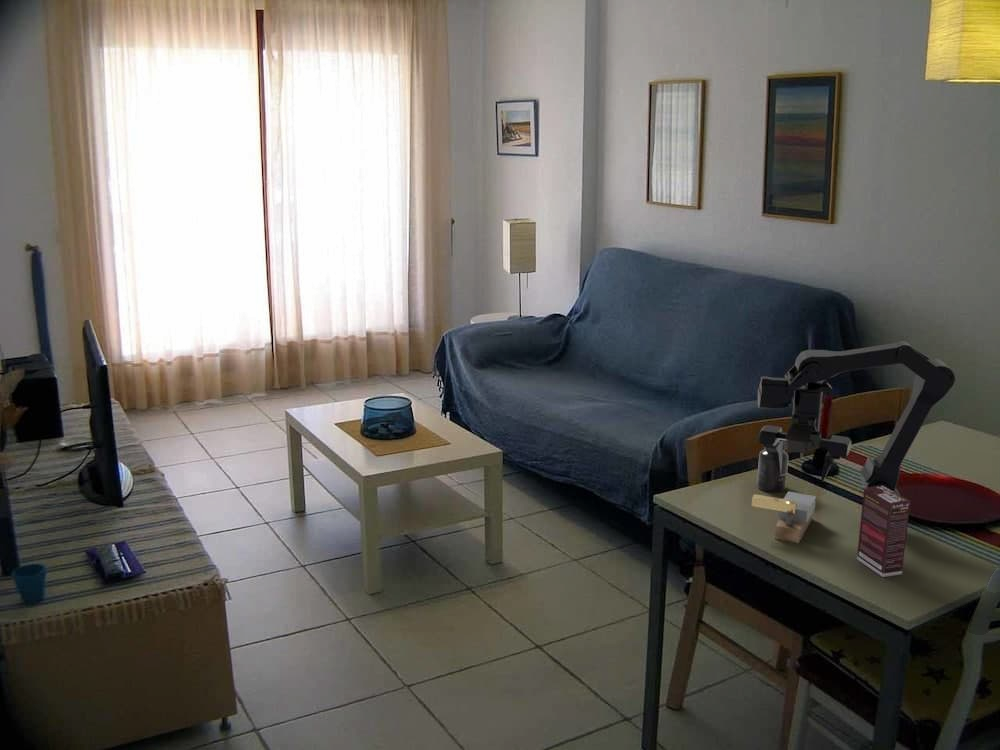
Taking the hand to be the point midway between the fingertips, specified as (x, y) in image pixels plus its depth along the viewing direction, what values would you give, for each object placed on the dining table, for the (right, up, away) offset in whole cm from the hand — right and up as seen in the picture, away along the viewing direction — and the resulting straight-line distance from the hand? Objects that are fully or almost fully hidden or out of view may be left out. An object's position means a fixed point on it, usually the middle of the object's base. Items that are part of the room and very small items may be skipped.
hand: (800, 477), depth 211 cm
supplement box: (+10, -16, -17) cm, 26 cm away
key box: (-1, -11, +1) cm, 11 cm away
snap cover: (-1, -8, +1) cm, 8 cm away
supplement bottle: (0, -5, +23) cm, 23 cm away
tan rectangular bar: (-7, -6, -4) cm, 10 cm away
